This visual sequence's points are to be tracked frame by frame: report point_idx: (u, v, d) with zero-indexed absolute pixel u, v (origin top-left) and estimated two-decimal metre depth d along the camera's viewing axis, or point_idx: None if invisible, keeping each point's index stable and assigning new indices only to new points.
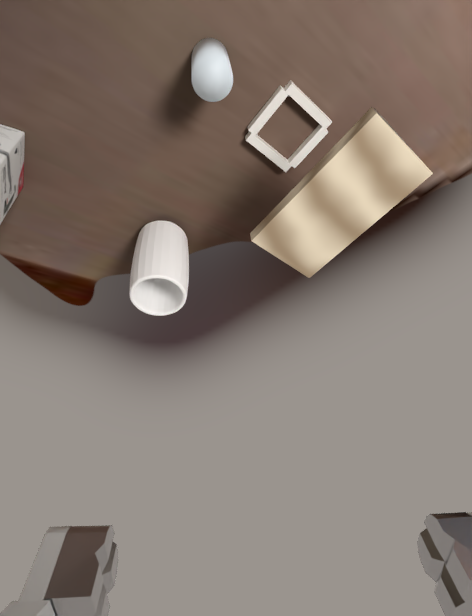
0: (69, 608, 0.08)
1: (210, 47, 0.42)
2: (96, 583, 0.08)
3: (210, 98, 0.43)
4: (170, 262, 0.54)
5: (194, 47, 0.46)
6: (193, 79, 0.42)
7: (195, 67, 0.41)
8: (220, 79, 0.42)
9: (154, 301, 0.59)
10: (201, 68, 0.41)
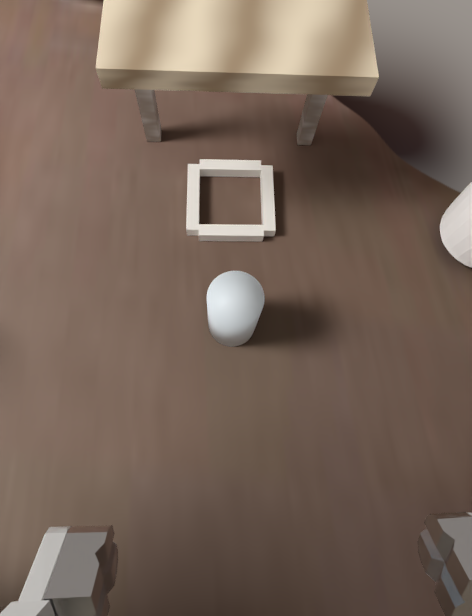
0: (69, 608, 0.08)
1: (213, 325, 0.32)
2: (96, 583, 0.08)
3: (256, 286, 0.30)
4: None
5: (232, 345, 0.36)
6: (252, 317, 0.29)
7: (238, 323, 0.29)
8: (228, 290, 0.30)
9: None
10: (233, 317, 0.29)
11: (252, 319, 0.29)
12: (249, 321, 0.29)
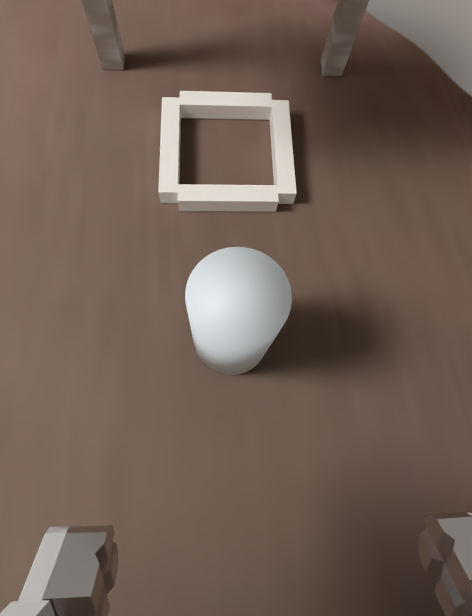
0: (69, 608, 0.08)
1: (199, 345, 0.19)
2: (96, 583, 0.08)
3: (276, 273, 0.17)
4: None
5: (233, 374, 0.23)
6: (270, 331, 0.16)
7: (244, 343, 0.16)
8: (225, 281, 0.16)
9: None
10: (236, 331, 0.16)
11: (270, 335, 0.16)
12: (265, 339, 0.16)
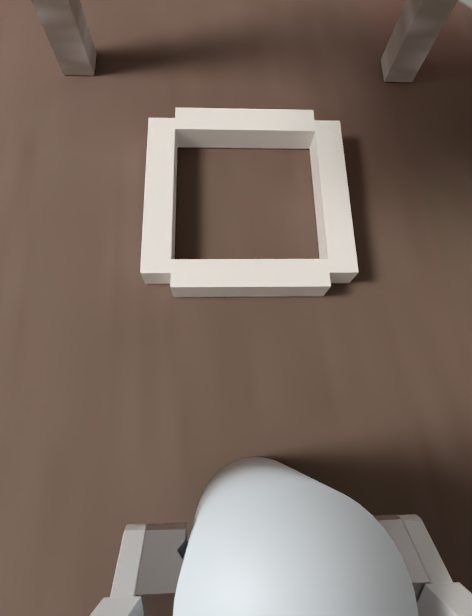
0: (158, 604, 0.08)
1: None
2: None
3: (379, 551, 0.07)
4: None
5: None
6: None
7: None
8: (265, 576, 0.07)
9: None
10: None
11: None
12: None
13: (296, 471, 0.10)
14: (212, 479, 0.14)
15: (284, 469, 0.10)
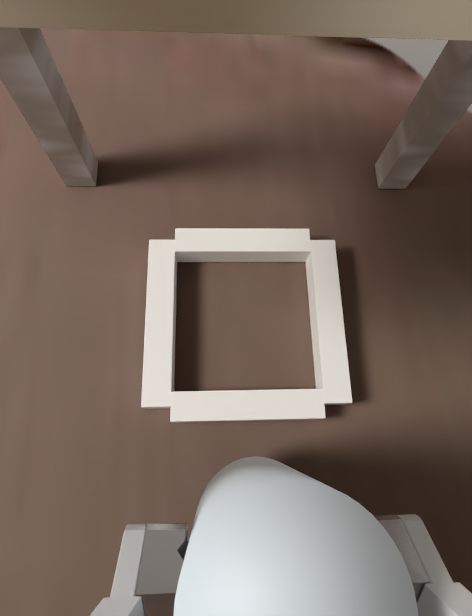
0: (158, 604, 0.08)
1: None
2: None
3: (379, 550, 0.07)
4: None
5: None
6: None
7: None
8: (266, 575, 0.07)
9: None
10: None
11: None
12: None
13: (296, 471, 0.11)
14: (212, 479, 0.14)
15: (284, 469, 0.10)
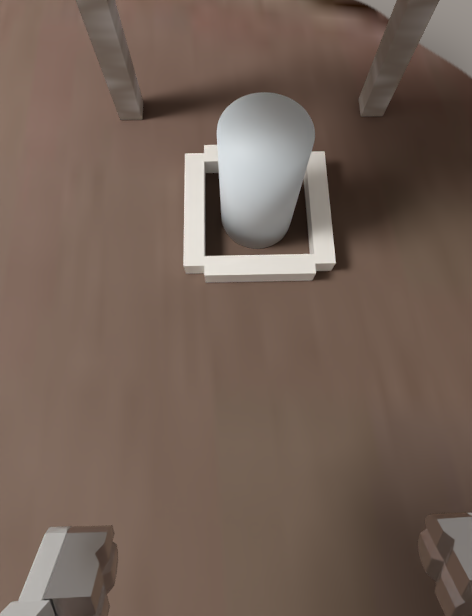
0: (69, 608, 0.08)
1: (228, 198, 0.20)
2: (96, 583, 0.08)
3: (300, 114, 0.18)
4: None
5: (258, 246, 0.24)
6: (295, 161, 0.17)
7: (271, 171, 0.17)
8: (253, 120, 0.18)
9: None
10: (263, 161, 0.17)
11: (295, 164, 0.17)
12: (290, 167, 0.17)
13: None
14: None
15: None
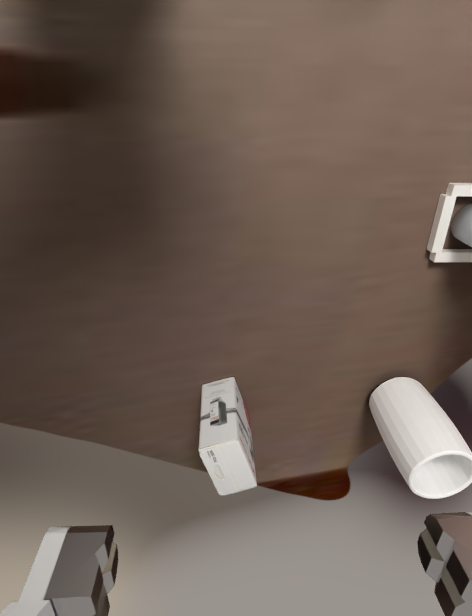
0: (69, 608, 0.08)
1: None
2: (96, 583, 0.08)
3: None
4: (433, 430, 0.45)
5: (452, 223, 0.45)
6: None
7: None
8: None
9: (435, 477, 0.48)
10: None
11: None
12: None
13: None
14: None
15: None
